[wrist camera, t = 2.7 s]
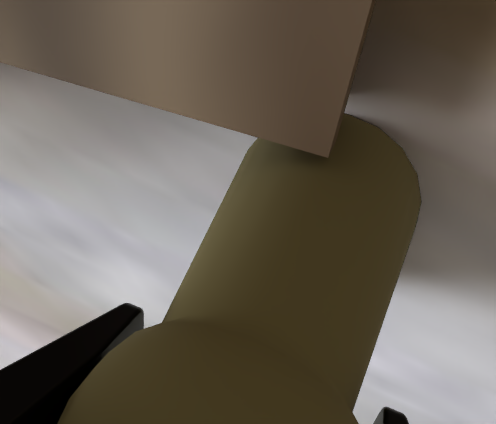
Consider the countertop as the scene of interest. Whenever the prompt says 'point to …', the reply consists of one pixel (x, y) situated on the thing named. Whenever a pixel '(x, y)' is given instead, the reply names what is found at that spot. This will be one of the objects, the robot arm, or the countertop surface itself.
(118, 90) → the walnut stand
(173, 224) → the countertop surface
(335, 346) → the olive pestle
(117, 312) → the robot arm
